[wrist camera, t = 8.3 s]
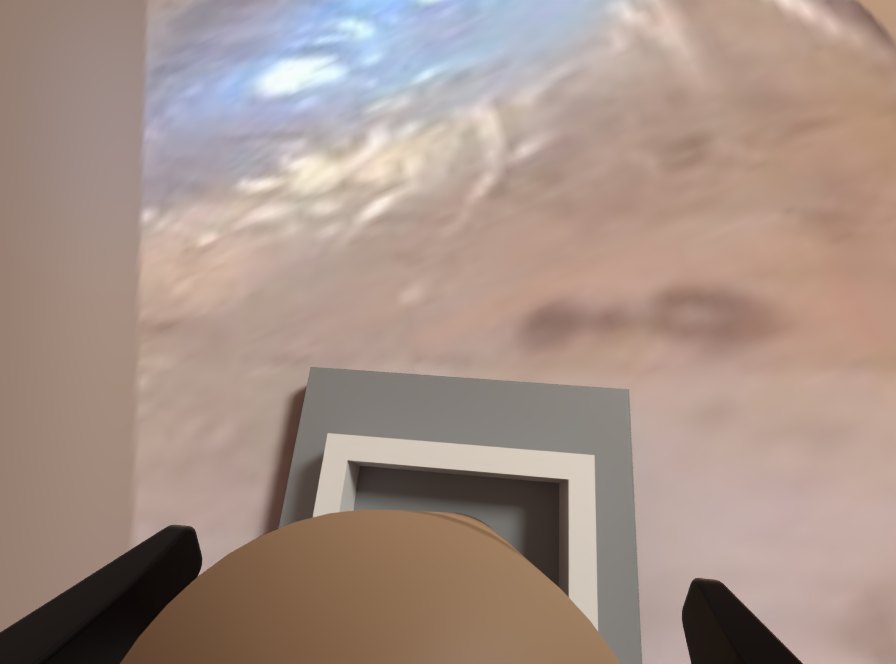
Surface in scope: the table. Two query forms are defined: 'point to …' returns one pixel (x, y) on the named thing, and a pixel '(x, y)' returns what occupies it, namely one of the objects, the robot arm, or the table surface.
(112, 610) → the robot arm
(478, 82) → the table surface
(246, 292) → the table surface
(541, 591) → the walnut post
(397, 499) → the grey framed base plate
